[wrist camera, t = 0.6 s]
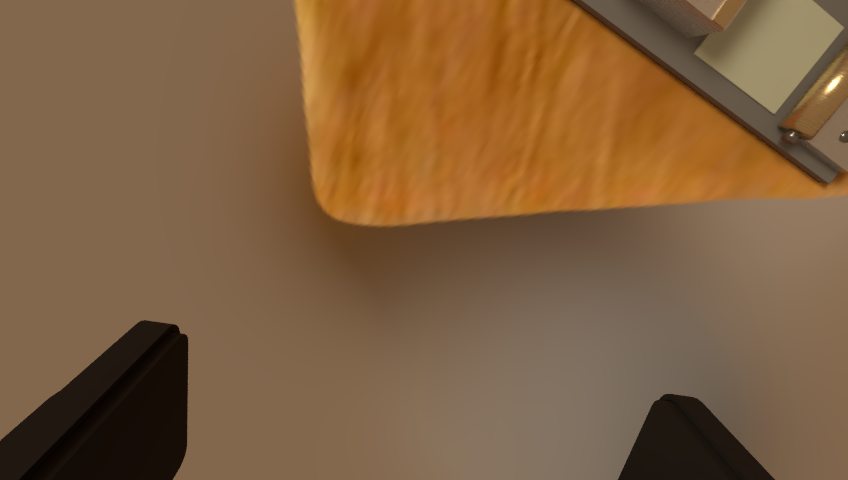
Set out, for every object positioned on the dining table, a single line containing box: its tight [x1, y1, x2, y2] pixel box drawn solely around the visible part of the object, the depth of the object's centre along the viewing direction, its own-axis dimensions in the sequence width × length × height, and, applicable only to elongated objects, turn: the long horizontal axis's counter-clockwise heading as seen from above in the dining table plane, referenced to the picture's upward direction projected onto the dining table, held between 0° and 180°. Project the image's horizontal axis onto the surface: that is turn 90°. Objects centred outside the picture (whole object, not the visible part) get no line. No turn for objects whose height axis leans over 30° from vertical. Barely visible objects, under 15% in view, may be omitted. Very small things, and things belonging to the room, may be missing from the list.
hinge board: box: [573, 0, 848, 184], centre depth 31 cm, size 14×28×1 cm, turn 60°
